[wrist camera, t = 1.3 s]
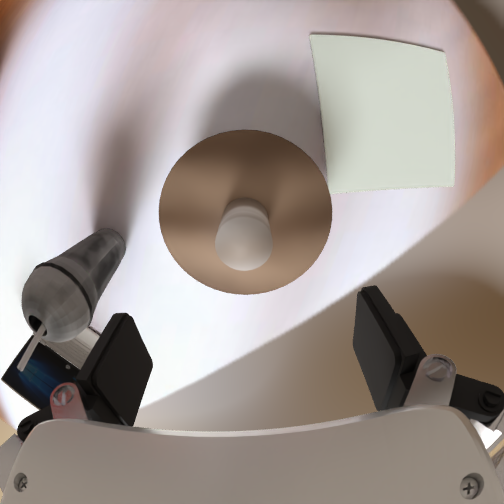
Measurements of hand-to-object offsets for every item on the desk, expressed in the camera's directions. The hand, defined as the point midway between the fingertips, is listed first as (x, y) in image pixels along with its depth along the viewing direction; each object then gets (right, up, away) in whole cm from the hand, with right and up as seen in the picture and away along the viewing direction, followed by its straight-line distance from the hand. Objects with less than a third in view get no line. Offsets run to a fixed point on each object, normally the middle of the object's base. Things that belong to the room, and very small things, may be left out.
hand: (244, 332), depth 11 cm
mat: (+16, +18, +13) cm, 27 cm away
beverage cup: (-17, +4, +20) cm, 26 cm away
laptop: (-29, -12, +28) cm, 42 cm away
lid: (0, +6, +12) cm, 14 cm away
